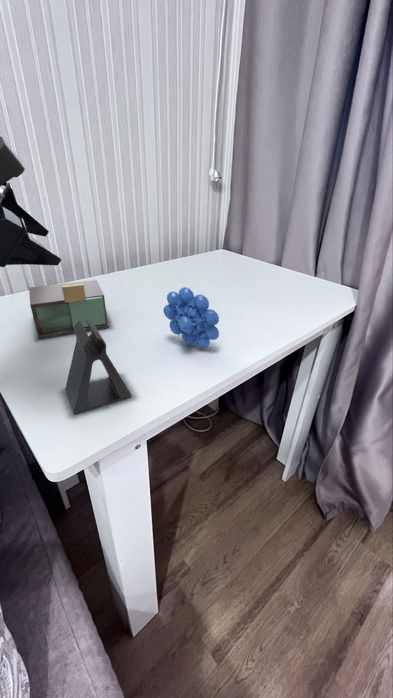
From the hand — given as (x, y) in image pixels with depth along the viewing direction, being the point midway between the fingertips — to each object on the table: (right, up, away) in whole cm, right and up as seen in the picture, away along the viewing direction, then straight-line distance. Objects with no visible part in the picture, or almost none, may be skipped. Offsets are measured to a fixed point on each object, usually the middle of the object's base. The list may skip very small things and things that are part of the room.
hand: (53, 247), depth 49 cm
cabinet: (-6, -9, +24) cm, 27 cm away
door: (-2, -10, +21) cm, 23 cm away
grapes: (+20, -15, +17) cm, 30 cm away
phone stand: (+5, -23, +4) cm, 24 cm away
